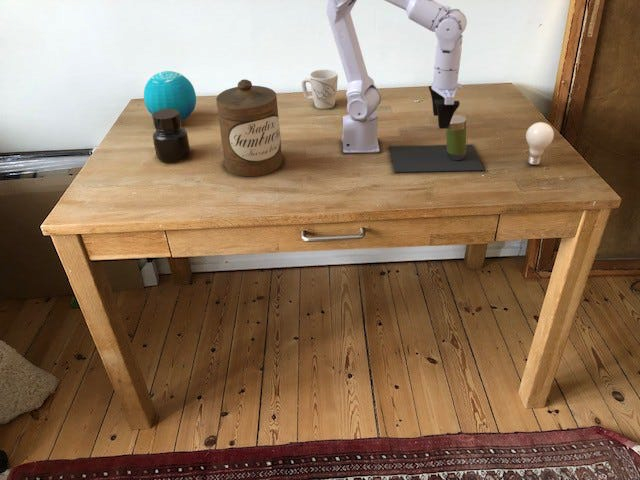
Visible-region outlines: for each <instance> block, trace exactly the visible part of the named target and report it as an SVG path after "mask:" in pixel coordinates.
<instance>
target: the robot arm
mask: <svg viewBox="0 0 640 480" xmlns="http://www.w3.org/2000/svg"><path fill="white" fill-rule="evenodd" d="M384 1H385V2H388V3H389V4H391V5H394V6H395V7H398V8H400V9H402V10H404V11H405V12H406V16H407V18H408V19H409V20H410V21H411V22H414V23H416V24H417V25H420V26H421V27H422V28H425V29H426V30H429V31H430V32H432V33H435V37H436V38H437V43H436V46H435V55H434V67H433V77H432V83H431V85H428V90H429V93H430V96H431V102H432V113H433V116H434V117H437V121H438V122H437V124H438V128H439V130H443V129H445V130H446V129H447V128H448V127H449V124H450V122H451V119H452V116H453V115H455V112H456V111H457V109H458V108H459V107H460V106H461V105H460V104H461V102H460V100H455V98H456V93H457V91H458V90H462V89H463V85H462V83H458V81H459V73H460V66H461V58H462V49H463V47H462V44H463V33H464V32H465V30H466V28H467V24H468V20H467V16H466V15H465V14H464V12H462V11H461V10H460V9H459V8H451V6H450V5H446V6H445V5H443V4H441V3H439V2H437V1H436V0H384ZM356 2H357V0H327V5H326V15H327V18H328V21H329V26H330V29H331V31H332V32H331V33H332V35H333V39H334V42H335V45H336V49H337V51H338V55H339V58H340V61H341V64H342V68H343V71H344V75H345V78H346V82H347V88H346V93H345V95H346V99H347V105H346V110H347V113H348V114H346V115H343V116H342V135H341V143H342V150H343V153H344V154H364V153H365V154H368V153H369V154H371V153H380V145H379V141H378V140H379V139H378V124H379V112H378V109H377V108H378V106H380V104H381V102H382V94H381V91H380V89H378V88H377V86H376V85H375V81H374V79H373V78H372V77H371V76H370V75H369V74H368V71H367V67H366V64H365V60H364V56H363V53H362V50H361V46H360V42H359V39H358V34H357V32H356V28H355V25H354V21H353V17H352V14H351V12H352V9H353V8H354V6H355V4H356Z"/></svg>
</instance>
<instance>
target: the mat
mask: <svg viewBox="0 0 640 480" xmlns="http://www.w3.org/2000/svg"><path fill="white" fill-rule="evenodd" d="M389 152H390V155H391V156H390V157H391V160H392V166H393V170H394V174H411V173H412V174H413V173H415V174H417V173H458V172H459V173H460V172H461V173H463V172H485V168H484V166H483V164H482V163H481V160H480V158H479V156H478V154H477V152H476V150H475V148H474V146H473V144H466V157H465V158H464V159H461V160H450V159H448V158H447V144H444V145H443V144H441V145H440V144H439V145H438V144H437V145H404V146H403V145H398V146H397V145H395V146H392V145H391V146H389Z"/></svg>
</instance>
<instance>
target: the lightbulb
mask: <svg viewBox="0 0 640 480" xmlns="http://www.w3.org/2000/svg"><path fill="white" fill-rule="evenodd" d="M554 137H555V132H554V128H553V127H552V126H551V125H550V124H548V123H546V122H543V121H538V122H534V123H533V124H531V125H530V126H529V127H528V128H527V130H526V133H525V140H526V143H527V145H528V151H529V155H528V160H527V162H528V164H530V165H532V166H535V165H540V163H541V157H542V155H543V154H544V151H545V149H547V148H548V147H549V146H550V145H551V144H552V142H553V140H554Z"/></svg>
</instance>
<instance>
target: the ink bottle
mask: <svg viewBox="0 0 640 480" xmlns="http://www.w3.org/2000/svg"><path fill="white" fill-rule="evenodd" d="M151 118H152V122H153V126H154V130H155V131H154V132H153V133H152V141H153V147H154V151H155V154H156V158H157V159H158V160H159V161H160V162H163V163H166V164H167V163H168V164H171V163H172V164H173V163H178V162H182V161H184V160H187V158H189V157H190V156H191V154H192V153H191V145H190V140H189V135H188V131H187V130H186V128H184V127H183V126H182V122H181V119H180V114H179V111H178V110H175V109H163V110H159V111H156V112H155V113H153V115H152V114H151Z"/></svg>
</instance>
